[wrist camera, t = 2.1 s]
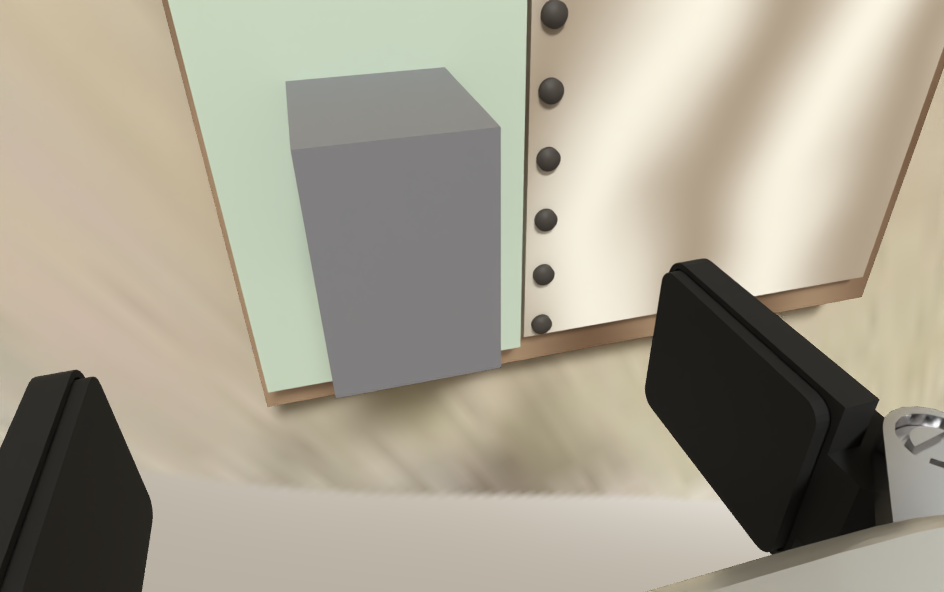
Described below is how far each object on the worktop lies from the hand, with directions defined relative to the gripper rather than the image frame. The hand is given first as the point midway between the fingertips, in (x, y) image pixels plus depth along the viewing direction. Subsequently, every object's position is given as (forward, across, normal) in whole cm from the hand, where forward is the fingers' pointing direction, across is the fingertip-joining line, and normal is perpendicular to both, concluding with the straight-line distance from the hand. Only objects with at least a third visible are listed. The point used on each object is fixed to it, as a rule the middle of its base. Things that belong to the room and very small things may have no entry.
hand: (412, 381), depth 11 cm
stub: (+9, -1, 0) cm, 9 cm away
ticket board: (+11, -8, 0) cm, 14 cm away
